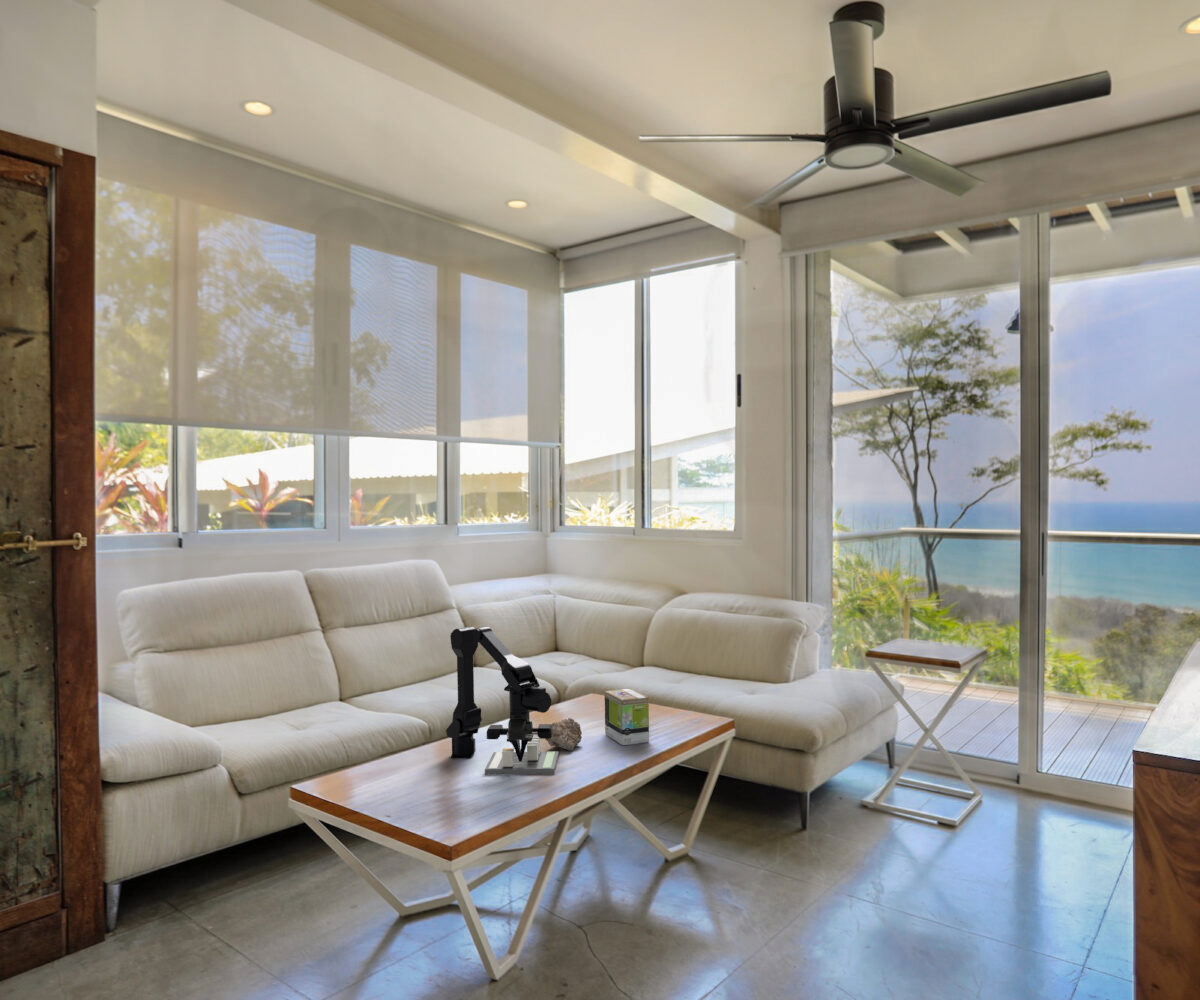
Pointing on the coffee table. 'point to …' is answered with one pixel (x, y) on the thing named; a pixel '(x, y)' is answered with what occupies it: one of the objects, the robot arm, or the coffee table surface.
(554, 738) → the coral
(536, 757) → the block
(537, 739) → the block
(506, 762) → the block
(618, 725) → the tea box
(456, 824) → the coffee table surface
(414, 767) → the coffee table surface
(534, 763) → the breaker panel
